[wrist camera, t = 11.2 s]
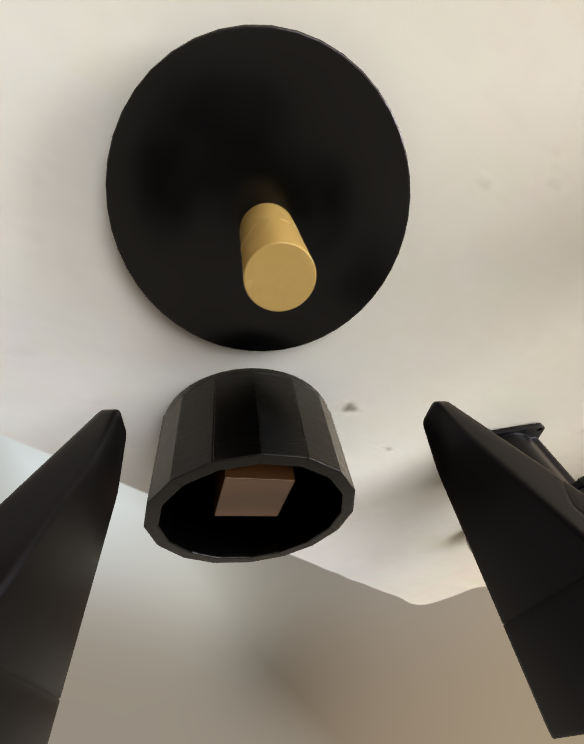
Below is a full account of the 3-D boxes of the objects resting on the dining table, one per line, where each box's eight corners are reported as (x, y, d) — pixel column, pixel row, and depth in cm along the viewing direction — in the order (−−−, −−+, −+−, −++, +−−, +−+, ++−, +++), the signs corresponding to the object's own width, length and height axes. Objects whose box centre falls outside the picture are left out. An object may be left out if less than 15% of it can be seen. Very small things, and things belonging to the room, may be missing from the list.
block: (225, 413, 24) (224, 478, 20) (284, 418, 25) (295, 480, 21) (215, 452, 26) (214, 516, 22) (270, 455, 28) (277, 516, 24)
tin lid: (425, 16, 13) (541, -26, 8) (383, 324, 22) (427, 390, 17) (47, 43, 12) (-72, 13, 7) (167, 354, 21) (149, 433, 16)
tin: (329, 355, 22) (361, 438, 17) (328, 465, 31) (349, 544, 25) (136, 383, 22) (106, 479, 16) (188, 488, 30) (179, 575, 25)
